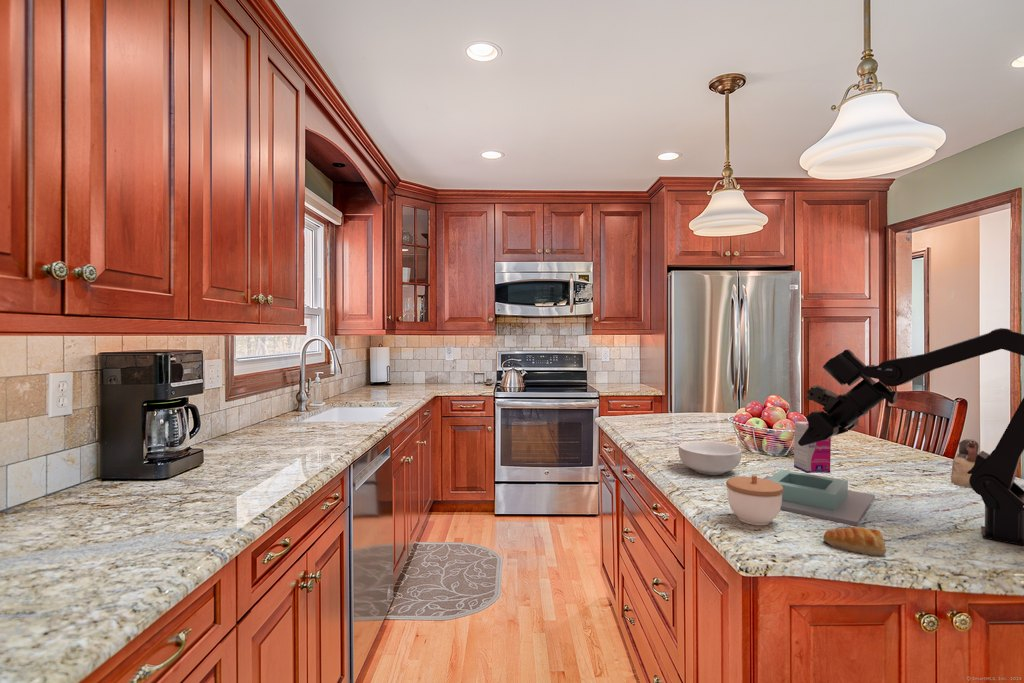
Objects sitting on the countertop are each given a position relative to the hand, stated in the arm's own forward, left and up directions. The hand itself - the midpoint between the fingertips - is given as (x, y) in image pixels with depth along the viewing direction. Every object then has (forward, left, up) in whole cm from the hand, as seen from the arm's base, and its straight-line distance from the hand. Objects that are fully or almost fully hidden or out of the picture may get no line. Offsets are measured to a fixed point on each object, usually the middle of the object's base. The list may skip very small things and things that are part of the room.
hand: (805, 442), depth 126 cm
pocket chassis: (-4, -1, -13) cm, 13 cm away
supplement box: (0, -1, -7) cm, 7 cm away
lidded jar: (-27, +5, -13) cm, 30 cm away
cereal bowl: (+6, +25, -13) cm, 29 cm away
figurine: (+36, -31, -13) cm, 50 cm away
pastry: (-29, -14, -13) cm, 35 cm away
